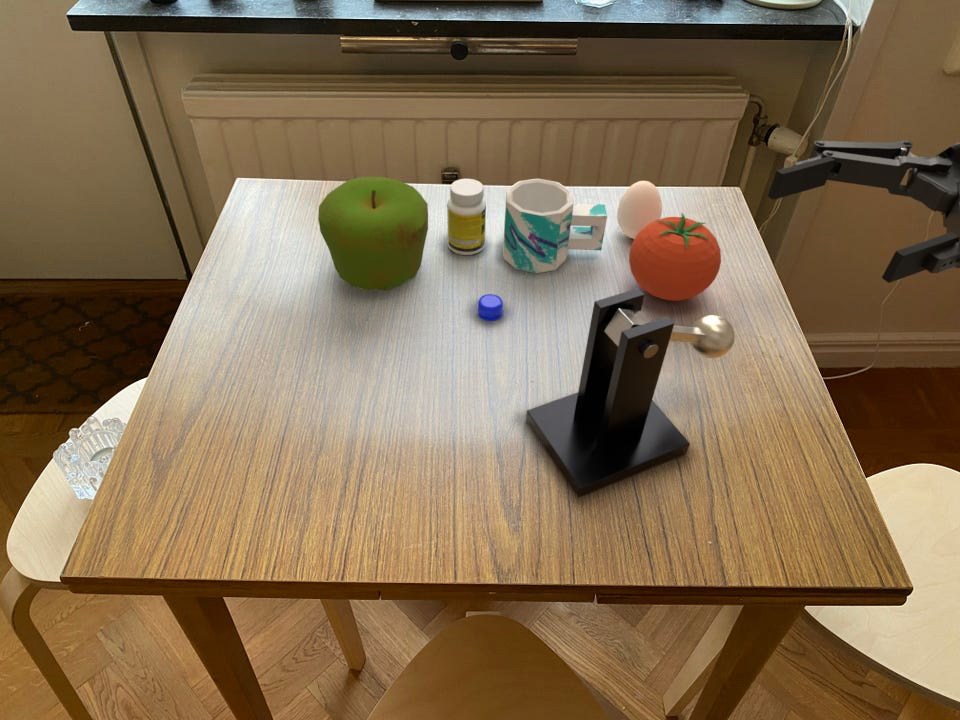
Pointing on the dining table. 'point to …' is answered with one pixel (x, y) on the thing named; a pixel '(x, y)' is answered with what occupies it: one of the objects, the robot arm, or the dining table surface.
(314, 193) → the dining table surface
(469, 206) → the supplement bottle
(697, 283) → the tomato
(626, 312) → the lever
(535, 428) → the tap bracket
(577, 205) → the mug
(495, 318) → the bottle cap
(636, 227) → the egg
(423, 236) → the apple
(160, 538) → the dining table surface
